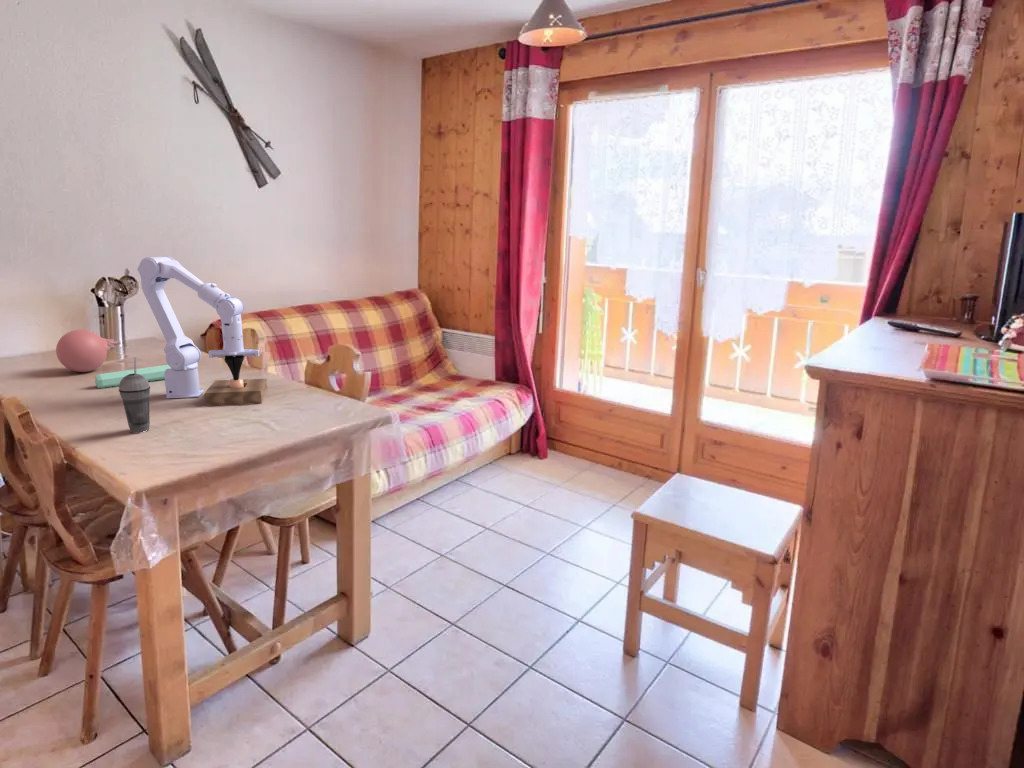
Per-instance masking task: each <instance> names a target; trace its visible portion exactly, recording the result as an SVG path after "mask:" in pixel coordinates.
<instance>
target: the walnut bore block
mask: <svg viewBox="0 0 1024 768" xmlns="http://www.w3.org/2000/svg"><path fill="white" fill-rule="evenodd" d="M242 379H243V383H244V387H239V388H230V379H224V380H222V379H220V380H219V379H218V380H217V379H216V380H214V381H213V382H212V383H211V384H210V386H209V387H208V388H207V389H206V390H205V392H204V401H205V406H206V407H207V406H209V407H210V406H227V405H229V406H231V405H233V404H234V405H248V404H247V403H257V404H262V403H263V401H264V399H265V397H266V395H267V393H268V391H267V389H268V387H269V386H268V378H247V379H246V378H245V379H244V378H242ZM268 390H269V389H268ZM266 392H267V393H266ZM265 394H266V395H265ZM264 396H265V397H264ZM263 398H264V399H263ZM234 405H233V406H234Z"/></svg>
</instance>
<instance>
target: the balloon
mask: <svg viewBox="0 0 1024 768" xmlns="http://www.w3.org/2000/svg"><path fill="white" fill-rule="evenodd" d="M117 345H121V341H119V340H114V339H113V338H105V337H104V338H103V337H101V336H100V335H99V334H97V333H95V332H93V331H91V330H88V329H74V330H71V331H69V332H66V333H65V334H63V335H62V336H61V337H60V339H59V340H58V341H57V344H56V348H55V353H56V356H57V357H56V358H57V360H58V361H59V362H60V363H61V364H62V366H63V367H65V368H66V369H67V370H69V371H73V372H77V373H87V372H92V371H94V370H97V369H98V368H99V367H101V366H102V365H103V364H104V362H105V361H106V359H107V356H108V353H109V351H110V350H112V349H115V348H116V346H117Z"/></svg>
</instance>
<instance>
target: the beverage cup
mask: <svg viewBox="0 0 1024 768" xmlns="http://www.w3.org/2000/svg"><path fill="white" fill-rule="evenodd" d="M133 359H134V360H133V363H134V365H133V369H134V374H128V375H126V376H125V377H124V378H123V379H122V380H121V381H120V384H119V386H118V392H119V395H120V398H121V399H122V404H123V408H124V412H125V416H126V420H127V421H126V422H127V425H128V428H129V430H130V431H131V432H143V431H146V430H149V429H150V425H151V424H150V422H151V421H150V420H151V419H150V417H151V416H150V394H151V386H150V384H149V382H148V381H147V379H146V378H145V377H144V376H142V375H140V374H136V369H137V357H134V358H133ZM130 431H129V432H130ZM149 431H150V430H149ZM131 432H130V433H131ZM146 432H147V431H146ZM143 433H144V432H143Z"/></svg>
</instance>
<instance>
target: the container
mask: <svg viewBox="0 0 1024 768" xmlns="http://www.w3.org/2000/svg"><path fill="white" fill-rule="evenodd" d="M166 369H171V367H170V366H169V365H168V364H163V365H157V366H155V365H154V366H149V367H141V368H136V374H140V375H142V376H144V377H145V378H146V379H147V381H150V382H155V380H157V381H162V380H165V370H166ZM128 374H134V368H133V369H126V370H119V371H113V372H106V373H99V374H97V375H95V377H94V380H95V381H94V383H95V385H96V387H97V388H98V389H105V387H107V388H113V387H112V386H115V387H119V384H120V381H121V380H122V379H123V378H124V377H125V376H126V375H128Z"/></svg>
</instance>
